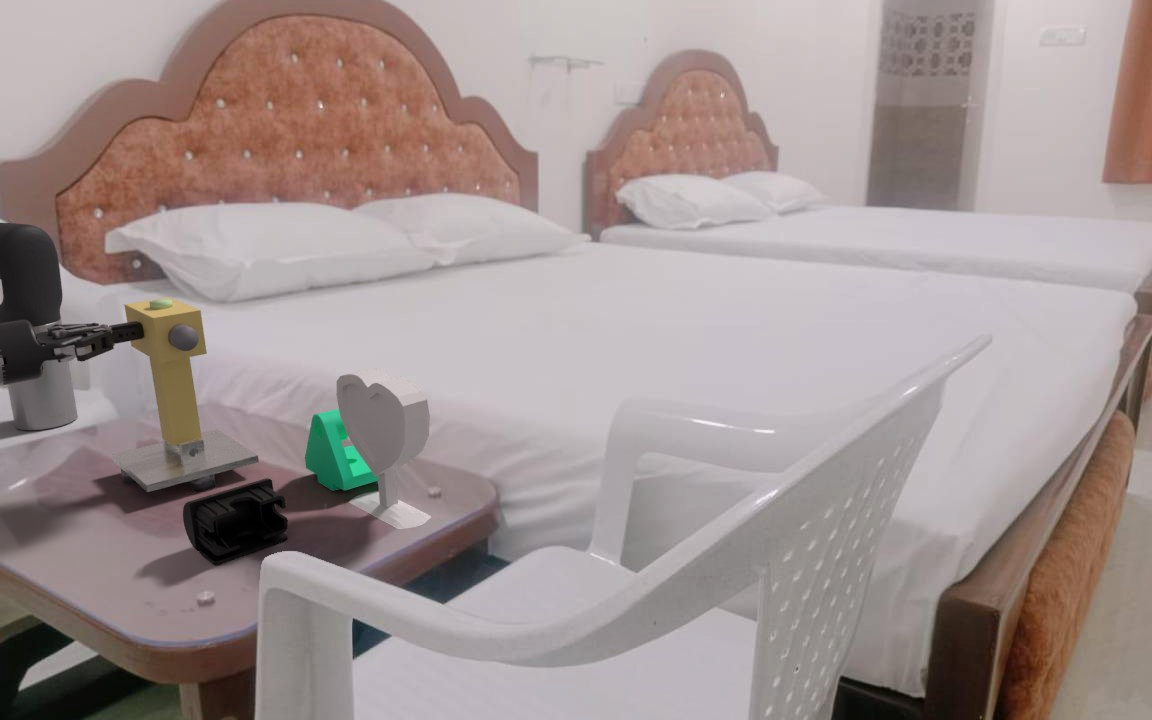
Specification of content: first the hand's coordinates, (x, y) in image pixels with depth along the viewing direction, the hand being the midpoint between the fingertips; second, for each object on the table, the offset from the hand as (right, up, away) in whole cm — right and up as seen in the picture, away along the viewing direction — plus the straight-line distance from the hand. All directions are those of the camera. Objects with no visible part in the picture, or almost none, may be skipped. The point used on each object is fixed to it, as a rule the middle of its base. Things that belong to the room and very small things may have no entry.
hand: (141, 329), depth 119 cm
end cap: (+18, -26, -12) cm, 34 cm away
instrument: (+3, -16, +7) cm, 18 cm away
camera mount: (+27, -21, +5) cm, 34 cm away
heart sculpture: (+34, -24, -4) cm, 42 cm away
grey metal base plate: (+3, -20, +8) cm, 22 cm away
